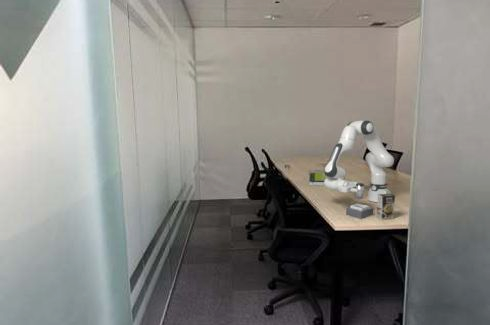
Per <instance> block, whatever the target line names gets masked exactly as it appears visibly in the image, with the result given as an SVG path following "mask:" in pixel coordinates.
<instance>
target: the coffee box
mask: <svg viewBox="0 0 490 325" xmlns="http://www.w3.org/2000/svg"><path fill="white" fill-rule="evenodd" d="M395 198H396V195H395V194H392V193H391V194H378V202H376V203H377V204H376V207H377V208H376V218H378V220H381V221H384V220H394V218H395V200H396V199H395Z"/></svg>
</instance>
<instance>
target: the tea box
mask: <svg viewBox="0 0 490 325" xmlns="http://www.w3.org/2000/svg"><path fill="white" fill-rule="evenodd" d="M308 179H309V180H308V181H309V182H308V183H309V184H308V185H310V186H325V184H324V181H325V179H326V175H325V173H324V169H309V170H308Z"/></svg>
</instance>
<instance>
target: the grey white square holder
mask: <svg viewBox="0 0 490 325" xmlns="http://www.w3.org/2000/svg"><path fill="white" fill-rule="evenodd" d="M345 213H346V214H345V215H346V216H348V215H349V217H353V218H356V219H358V220H359V219H360V220H363V219H366V218H369V217H371V216H373V215H374V208H373V207H370V205H366V204H362V203H355V204H351V205H350V206H349V207H346V209H345Z"/></svg>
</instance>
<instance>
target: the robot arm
mask: <svg viewBox="0 0 490 325" xmlns="http://www.w3.org/2000/svg"><path fill="white" fill-rule="evenodd" d="M357 136H363V138H364V141H365V144H366V147H367V149H368V150H369V152H368V153H366V155H365V161H366V163H367V165H368V166H369V169H370V184H369V187H370V188H369V189H368V195H367V196H366V199H367V200H368V201H370V202H374V203H377V202H378V194H392V192H391V190H389V188H388V186H389V182H388V183H387V182H386V181H387V173H386V172H385V171H384V169H383V168H390V167H392V166H393V165H394V161H395V158H394V156H393V155H392V154H390V153H389V152H388V151H387V149H386V147H385V146H384V144H383V142H382V140H381V137H380V134H379V131H378V129H377V127H376V126H375V125H374V123H373V122H372V121H370V120H366V119H365V120H355V121H354V120H353V121H351V122H348V123H347V125H346V126H345V127H344V128H343V130H342V132H341V134H340V138H339V141H338V142H337V143H336V145H335V146H334V148H333V150H332V152H331V154H330V157H329V159H328V161H327V163H326V164H325V166H324V169H323V170H324V173H325V181H324V184H325V185H324V187H325V188H327V189H328V190H330V191H331V190H332V191H335V192H336V191H337V192H339V193H345V194H346V193H347V194H348V193H352V192H355V193H356V192H358V191H359V189H356V183H358V182H356V181H353V180H347V179H346V177H347V176H346V175H347V170H345V168H344V167H341V166H338V164H337V163H338V161H339V159H340V157H341V155H342V154H343V153H348V152H349V151H352V150H353V149H354V146H355V144H356V138H357Z"/></svg>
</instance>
